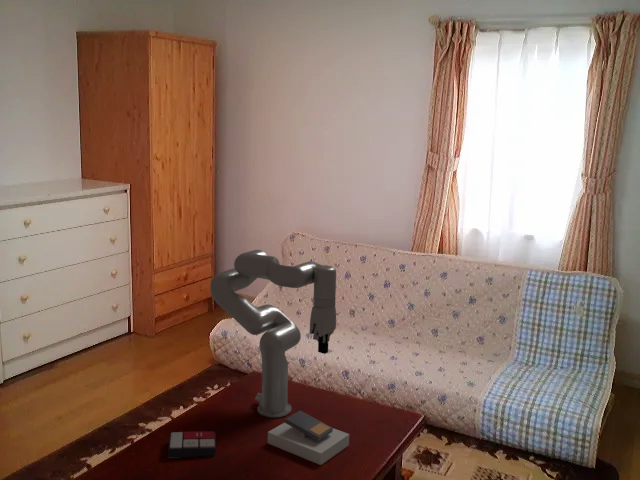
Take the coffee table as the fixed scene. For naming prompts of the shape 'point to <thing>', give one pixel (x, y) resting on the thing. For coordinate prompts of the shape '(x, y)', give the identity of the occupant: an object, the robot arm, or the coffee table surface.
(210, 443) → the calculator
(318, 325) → the robot arm
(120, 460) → the coffee table surface
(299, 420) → the rocker switch
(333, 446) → the switch box
